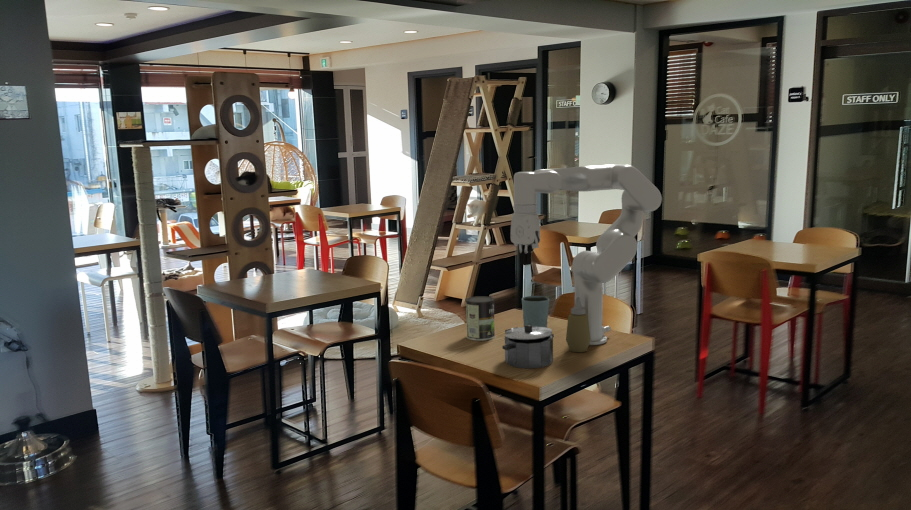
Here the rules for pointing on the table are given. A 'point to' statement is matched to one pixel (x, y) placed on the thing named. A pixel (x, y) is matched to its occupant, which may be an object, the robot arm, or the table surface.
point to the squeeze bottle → (578, 329)
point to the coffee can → (480, 318)
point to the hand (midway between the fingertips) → (526, 264)
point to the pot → (529, 352)
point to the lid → (528, 332)
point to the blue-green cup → (535, 310)
